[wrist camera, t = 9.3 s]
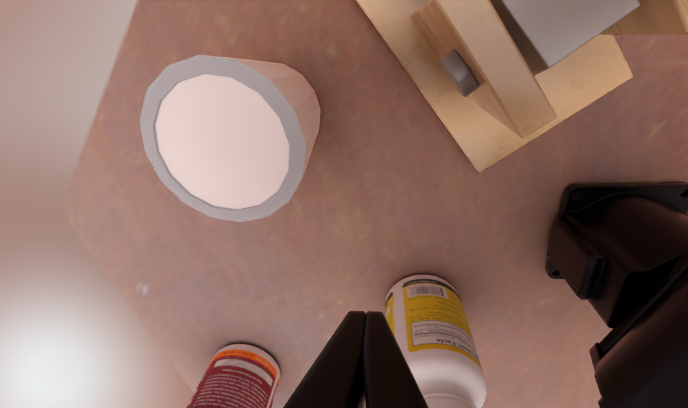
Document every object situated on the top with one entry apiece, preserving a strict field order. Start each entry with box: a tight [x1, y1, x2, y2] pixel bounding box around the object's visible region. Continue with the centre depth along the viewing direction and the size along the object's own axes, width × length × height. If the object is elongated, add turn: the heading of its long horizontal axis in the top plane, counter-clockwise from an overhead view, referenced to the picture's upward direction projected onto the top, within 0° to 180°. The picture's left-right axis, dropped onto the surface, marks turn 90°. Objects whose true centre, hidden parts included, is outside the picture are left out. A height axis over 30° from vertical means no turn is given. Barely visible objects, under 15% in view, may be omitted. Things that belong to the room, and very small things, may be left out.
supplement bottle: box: [385, 275, 486, 408], centre depth 20 cm, size 5×5×10 cm
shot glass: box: [140, 55, 321, 222], centre depth 16 cm, size 7×7×7 cm
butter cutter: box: [356, 0, 688, 173], centre depth 12 cm, size 13×8×10 cm, turn 40°
